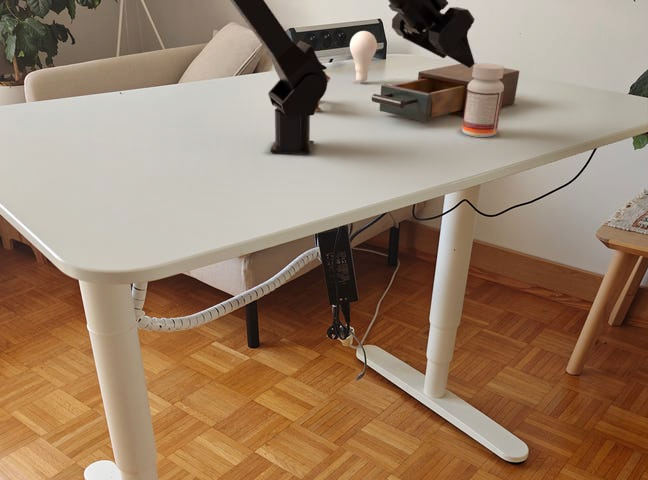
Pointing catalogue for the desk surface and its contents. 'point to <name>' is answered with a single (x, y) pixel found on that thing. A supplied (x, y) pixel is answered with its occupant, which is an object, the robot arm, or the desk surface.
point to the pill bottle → (483, 100)
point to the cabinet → (464, 76)
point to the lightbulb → (362, 53)
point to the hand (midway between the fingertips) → (458, 60)
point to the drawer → (421, 98)
